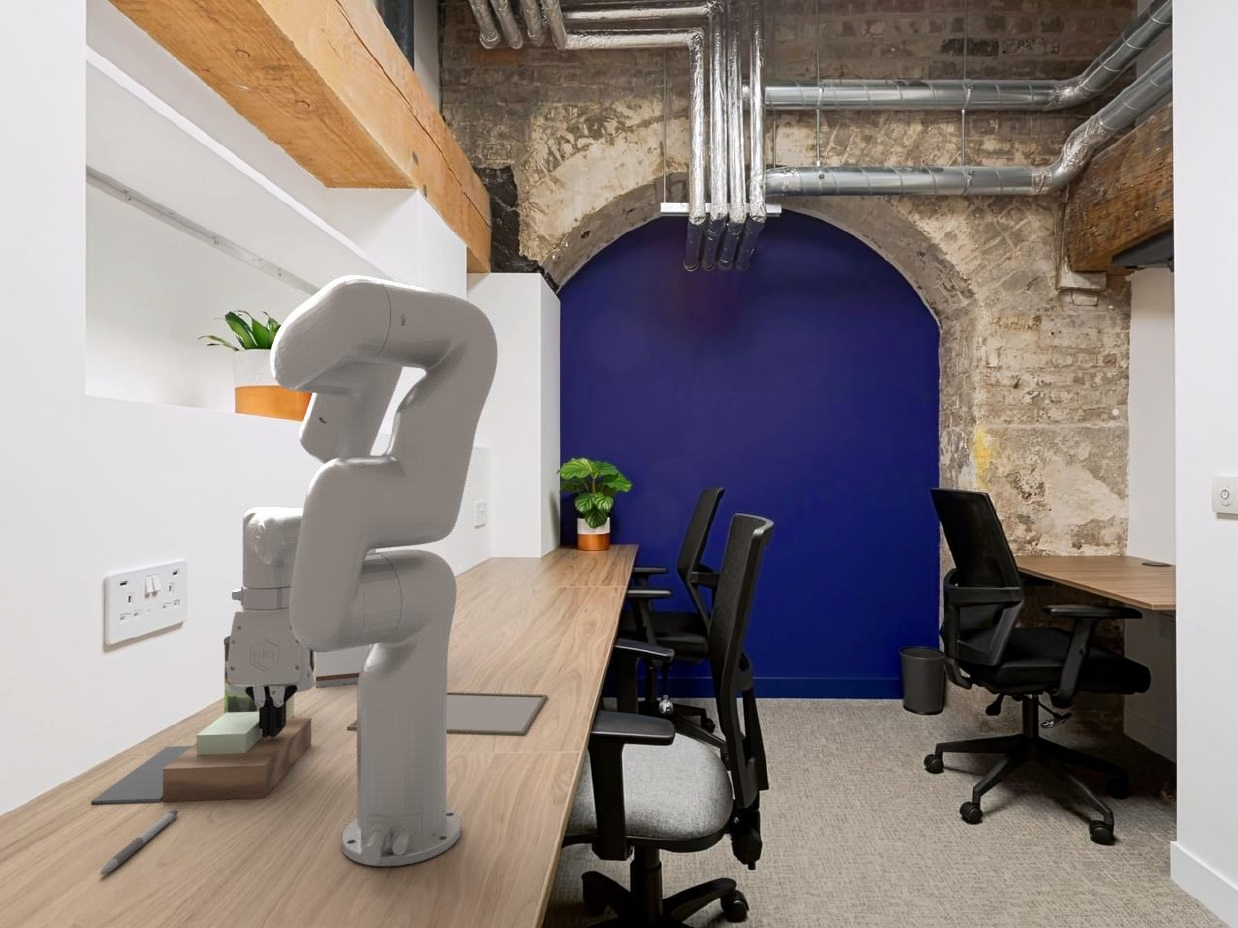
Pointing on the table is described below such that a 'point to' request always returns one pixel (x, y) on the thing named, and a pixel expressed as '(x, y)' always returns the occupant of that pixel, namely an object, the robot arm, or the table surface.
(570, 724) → the table surface
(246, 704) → the coffee can
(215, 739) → the block
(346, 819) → the table surface
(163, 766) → the mat
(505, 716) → the picture frame
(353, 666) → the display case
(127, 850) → the pen
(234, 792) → the brown wooden flat block
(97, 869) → the table surface
